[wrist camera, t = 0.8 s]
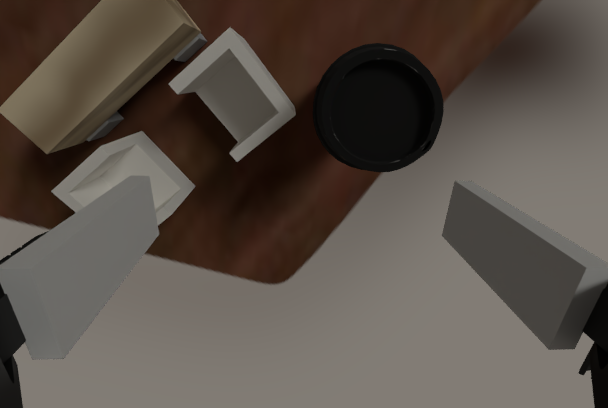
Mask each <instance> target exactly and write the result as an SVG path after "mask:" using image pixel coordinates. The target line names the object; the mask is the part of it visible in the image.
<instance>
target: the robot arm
mask: <svg viewBox="0 0 608 408" xmlns="http://www.w3.org/2000/svg"><path fill="white" fill-rule="evenodd" d="M158 235H159V230H158V224H157V218H156V212H155V206H154V200H153V194H152V188H151V182H150V176H131V175H130V176H129V177H128V178H126V179H125V180H123V181H122V182H120V183H119V184H117V185H116V186H114V187H113V188H111V189H110V190H109V191H107V192H106V193H104V194H103V195H101V196H100V197H98V198H97V199H95V200H94V201H93V202H91V203H90V204H88V205H87V206H85V207H84V208H82V209H81V210H79V211H78V212H76V213H75V214H74V215H72V216H71V217H69V218H68V219H66V220H65V221H63V222H62V223H60V224H59V225H58V226H56V227H55V228H53V229H52V230H50V231H48V232H45V233H43V234H41V235H38V236H36V237H34V238H33V239H31V240H30V241H28V242H27V243H26V244H24V245H23V246H22V248H18V249H17V250H15V251H13V252H12V253H11V255H8V256H6V257H5V258H3V259H2V260H0V408H23V405H22V398H21V390H20V382H19V375H18V368H17V364H16V361H15V359H14V357H13V354H14V353H15V352H16V351H17V350H18V349H19V348H20V347H21V345H22V344H23V343H24V342H25V343H26V346H27V348H28V350H29V353H30V355H31V358H32V359H64V358H65V356H66V355H67V354H68V353H69V351H70V350H71V349H72V347H73V346H74V345H75V343H76V342H77V341H78V339H79V338H80V337H81V335H82V334H83V333H84V331H85V330H86V329H87V328H88V326H89V325H90V324H91V323H92V321H93V320H94V319H95V317H96V316H97V315H98V313H99V312H100V310H101V309H102V308H103V307H104V306H105V304H106V303H107V302H108V300H109V299H110V298H111V296H112V295H113V293H114V292H115V291H116V290H117V289H118V287H119V286H120V285H121V283H122V282H123V281H124V279H125V278H126V277H127V276H128V274H129V273H130V272H131V270H132V269H133V268H134V266H135V265H136V264H137V262H138V261H139V260H140V259H141V257H142V256H143V255H144V253H145V252H146V251H147V249H148V248H149V247H150V245H151V244H152V243H153V242H154V240H155V239H156V238H157V236H158ZM442 236H443V237H444V238H445V239H446V240H447V241H448V243H449V244H450V245H451V246H452V247H453V248H454V249H455V250H456V251H457V252H458V253H459V254H460V255H461V256H462V257H463V258H464V260H466V262H467V263H468V264H469V265H470V266H471V267H472V268H473V269H474V270H475V271H476V272H477V274H478V275H479V276H480V277H481V278H482V279H483V280H484V281H485V282H486V283H487V284H488V285H489V286H490V287H491V288H492V289H493V291H495V293H497V295H498V296H499V297H500V298H501V299H502V300H503V301H504V302H505V303H506V304H507V305H508V307H510V309H511V310H512V311H513V312H514V313H515V314H516V315H517V316H518V317H519V318H520V319H521V320H522V321H523V323H524V324H526V326H527V327H528V328H529V329H530V330H531V331H532V332H533V333H534V334H535V335H536V336H537V337H538V338H539V340H540V341H541V342H542V343H543V344H544V345H545V346H546V347H547V348H548V349H550V350H551V349H553V350H554V349H575V347H576V345H577V343H578V341H579V339H580V337H581V335H582V333H583V332H584V333H585V334H587V335H588V336H589V337H590V338H591V339H592V340H593V341H594V344H593V346H592V348H591V349H590V351H589V353H588V355H587V357H586V359H585V361H584V362H583V364H582V366H581V368H580V371H579V374H581V375H584V374H585V372H586V371H588V370H591V376H592V377H591V379H592V385H593V396H594V404H595V408H608V263H607V262H605V261H603V260H602V259H600V258H598V257H597V256H595V255H593V254H592V253H590V252H589V251H587V250H585V249H584V248H582V247H580V246H579V245H577V244H575V243H574V242H572V241H570V240H569V239H567V238H565V237H563V236H562V235H560V234H559V233H557V232H555V231H553V230H552V229H550V228H549V227H547V226H545V225H544V224H542V223H540V222H539V221H537V220H535V219H534V218H532V217H530V216H529V215H527V214H525V213H524V212H522V211H520V210H519V209H517V208H515V207H514V206H512V205H511V204H509V203H507V202H505V201H504V200H502V199H501V198H499V197H497V196H495V195H494V194H492V193H491V192H489V191H487V190H486V189H484V188H482V187H481V186H479V185H477V184H476V183H474V182H472V181H455V182H454V187H453V191H452V195H451V199H450V204H449V208H448V212H447V216H446V220H445V225H444V229H443V234H442Z"/></svg>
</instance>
